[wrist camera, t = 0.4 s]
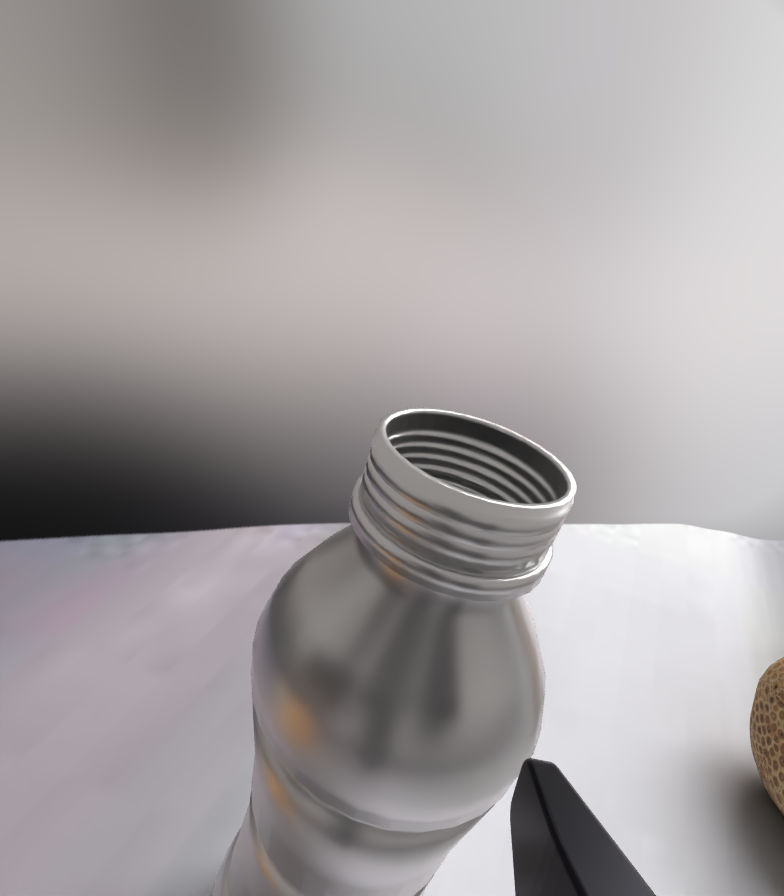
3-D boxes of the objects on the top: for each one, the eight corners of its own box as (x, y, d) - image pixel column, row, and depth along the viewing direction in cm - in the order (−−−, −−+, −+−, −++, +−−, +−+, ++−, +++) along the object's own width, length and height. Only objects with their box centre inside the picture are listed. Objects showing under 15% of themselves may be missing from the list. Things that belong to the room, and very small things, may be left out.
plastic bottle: (335, 1157, 14) (699, 672, 5) (153, 991, 16) (198, 432, 7) (418, 901, 19) (660, 463, 11) (276, 802, 21) (386, 360, 13)
